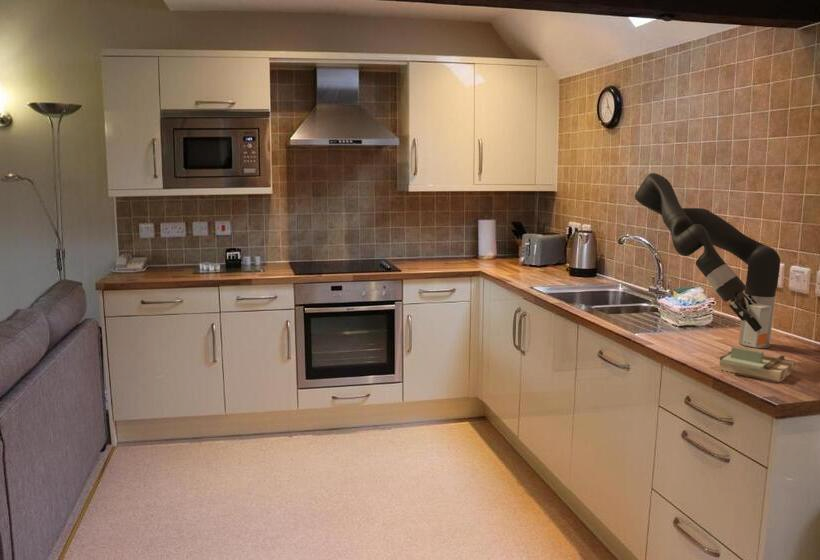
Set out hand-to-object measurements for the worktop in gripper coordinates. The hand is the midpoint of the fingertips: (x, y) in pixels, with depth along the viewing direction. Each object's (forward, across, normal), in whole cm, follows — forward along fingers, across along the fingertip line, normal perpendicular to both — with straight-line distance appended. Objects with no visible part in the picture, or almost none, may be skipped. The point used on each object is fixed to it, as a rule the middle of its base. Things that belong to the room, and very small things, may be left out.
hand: (762, 328), depth 202 cm
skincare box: (+3, 0, -5) cm, 6 cm away
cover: (+6, +9, -7) cm, 13 cm away
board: (+9, +2, -8) cm, 13 cm away
